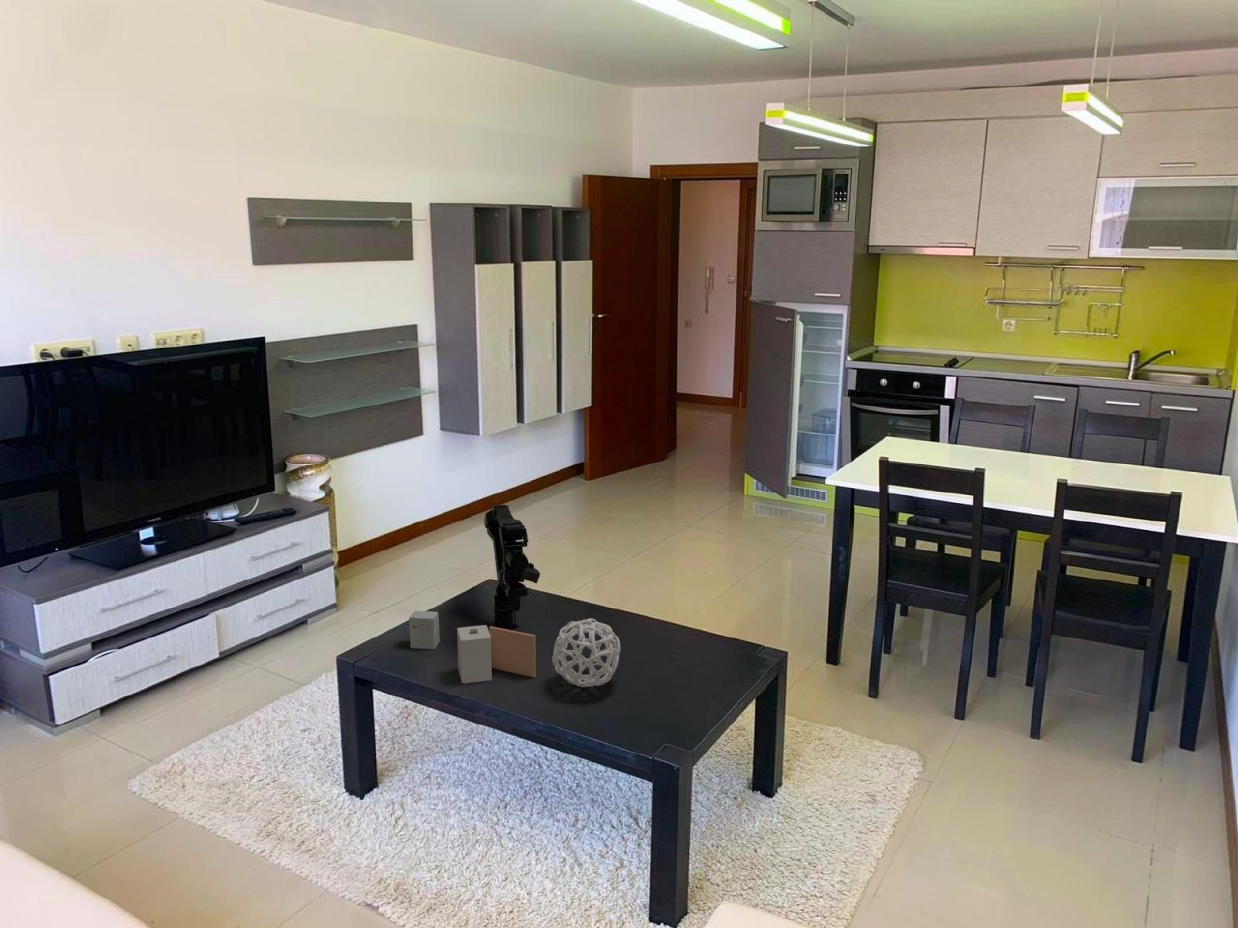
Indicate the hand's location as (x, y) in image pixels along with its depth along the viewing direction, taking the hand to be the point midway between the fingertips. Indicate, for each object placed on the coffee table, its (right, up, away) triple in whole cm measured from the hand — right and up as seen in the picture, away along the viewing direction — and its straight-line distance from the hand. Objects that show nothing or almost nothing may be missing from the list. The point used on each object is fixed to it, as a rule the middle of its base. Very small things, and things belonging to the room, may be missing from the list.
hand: (512, 607), depth 291 cm
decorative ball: (+24, -19, -23) cm, 38 cm away
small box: (-28, -12, 0) cm, 30 cm away
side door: (+2, -16, -17) cm, 24 cm away
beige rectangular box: (-9, -17, -18) cm, 27 cm away
